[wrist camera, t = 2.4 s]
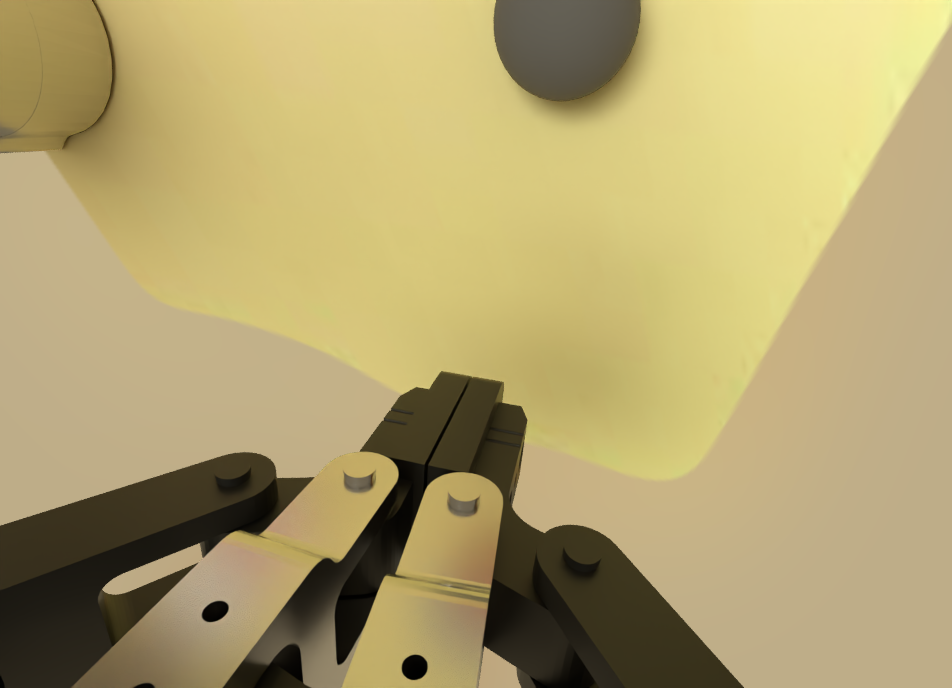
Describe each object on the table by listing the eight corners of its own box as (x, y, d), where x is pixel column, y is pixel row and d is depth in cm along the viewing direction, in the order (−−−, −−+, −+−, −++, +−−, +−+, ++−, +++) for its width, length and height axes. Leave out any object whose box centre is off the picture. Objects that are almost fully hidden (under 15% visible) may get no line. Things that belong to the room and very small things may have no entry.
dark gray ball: (570, 130, 24) (563, 132, 19) (481, 44, 24) (448, 24, 19) (664, 19, 22) (684, -11, 17) (567, -79, 21) (557, -141, 16)
